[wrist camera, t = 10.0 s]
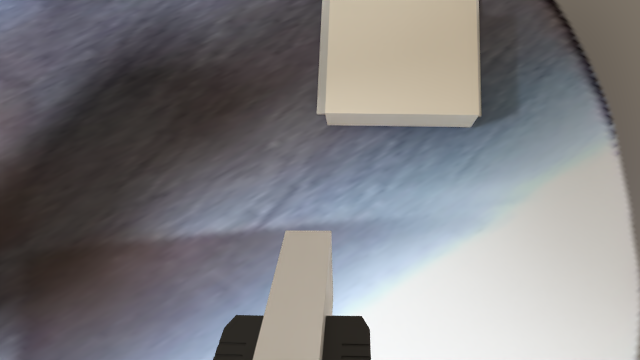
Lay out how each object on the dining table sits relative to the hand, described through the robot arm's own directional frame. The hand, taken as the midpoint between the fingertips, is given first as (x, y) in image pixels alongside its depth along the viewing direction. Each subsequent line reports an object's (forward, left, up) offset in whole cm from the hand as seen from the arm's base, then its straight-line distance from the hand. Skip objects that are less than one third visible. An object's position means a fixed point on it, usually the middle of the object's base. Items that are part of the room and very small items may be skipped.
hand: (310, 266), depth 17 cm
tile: (-1, +14, -22) cm, 26 cm away
